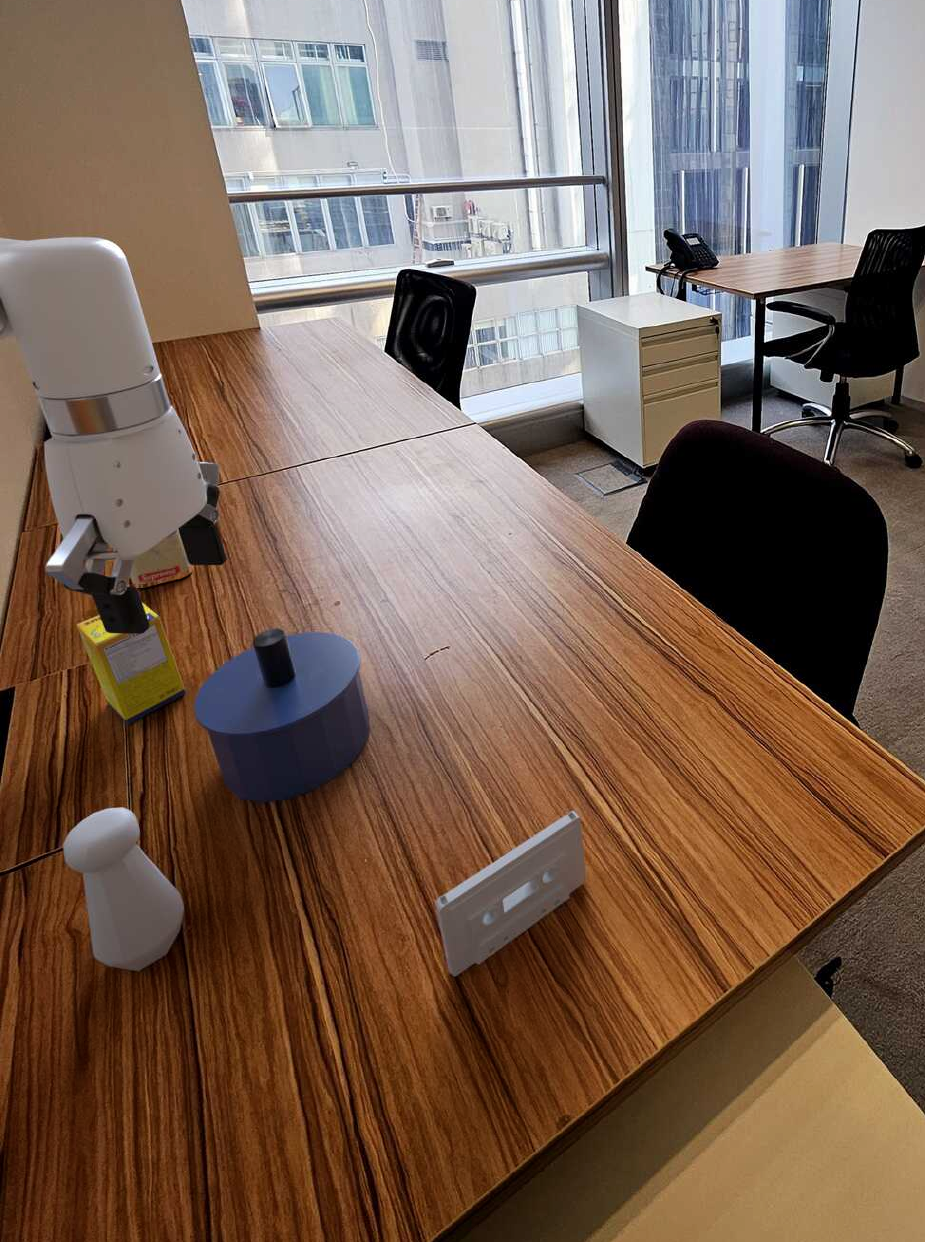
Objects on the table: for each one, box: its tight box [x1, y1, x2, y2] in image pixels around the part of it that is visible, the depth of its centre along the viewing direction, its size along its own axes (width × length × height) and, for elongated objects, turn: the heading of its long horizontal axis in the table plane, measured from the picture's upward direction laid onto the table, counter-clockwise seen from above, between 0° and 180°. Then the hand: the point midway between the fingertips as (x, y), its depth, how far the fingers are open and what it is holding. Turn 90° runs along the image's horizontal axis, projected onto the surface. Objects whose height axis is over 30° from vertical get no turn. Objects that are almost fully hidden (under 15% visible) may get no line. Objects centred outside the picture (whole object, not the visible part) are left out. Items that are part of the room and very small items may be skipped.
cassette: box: [434, 810, 587, 977], centre depth 58 cm, size 12×2×8 cm, turn 131°
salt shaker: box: [62, 806, 185, 972], centre depth 56 cm, size 6×6×13 cm
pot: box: [206, 671, 371, 803], centre depth 75 cm, size 14×14×8 cm
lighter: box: [130, 529, 190, 584], centre depth 104 cm, size 7×4×10 cm, turn 122°
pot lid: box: [193, 627, 361, 738], centre depth 73 cm, size 15×15×6 cm
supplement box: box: [76, 601, 187, 726], centre depth 81 cm, size 6×6×11 cm
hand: (171, 594), depth 62 cm, fingers open, 9 cm apart
